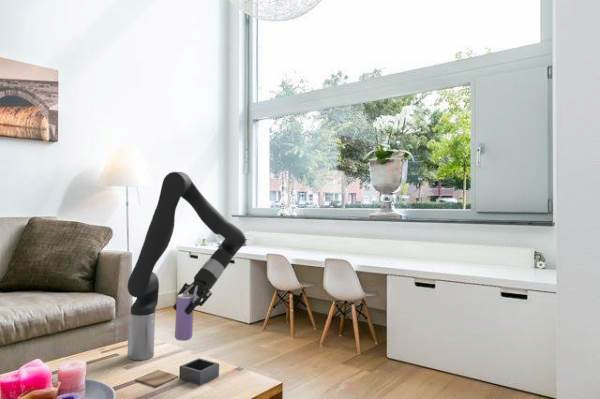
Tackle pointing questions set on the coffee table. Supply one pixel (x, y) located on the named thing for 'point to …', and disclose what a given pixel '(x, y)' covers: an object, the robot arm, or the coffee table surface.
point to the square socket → (199, 371)
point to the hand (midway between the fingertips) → (180, 311)
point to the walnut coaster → (157, 378)
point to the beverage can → (183, 318)
